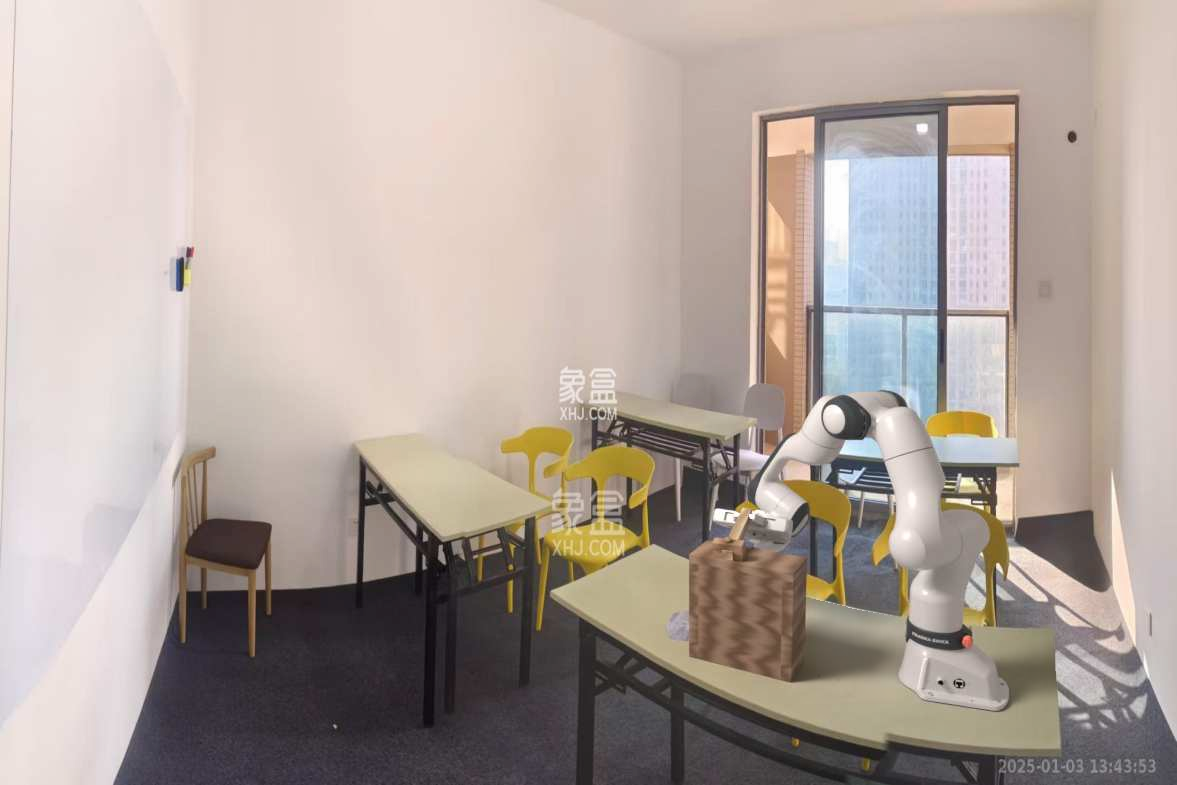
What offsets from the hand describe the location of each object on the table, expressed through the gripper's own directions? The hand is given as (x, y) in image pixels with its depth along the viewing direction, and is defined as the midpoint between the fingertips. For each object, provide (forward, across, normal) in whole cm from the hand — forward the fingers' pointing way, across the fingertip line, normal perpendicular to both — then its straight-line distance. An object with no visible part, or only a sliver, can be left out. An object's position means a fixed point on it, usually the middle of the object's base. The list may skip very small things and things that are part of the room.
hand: (744, 515), depth 195 cm
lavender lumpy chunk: (-12, -14, +30) cm, 35 cm away
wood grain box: (-6, +5, +33) cm, 34 cm away
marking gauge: (+4, +1, +6) cm, 7 cm away
